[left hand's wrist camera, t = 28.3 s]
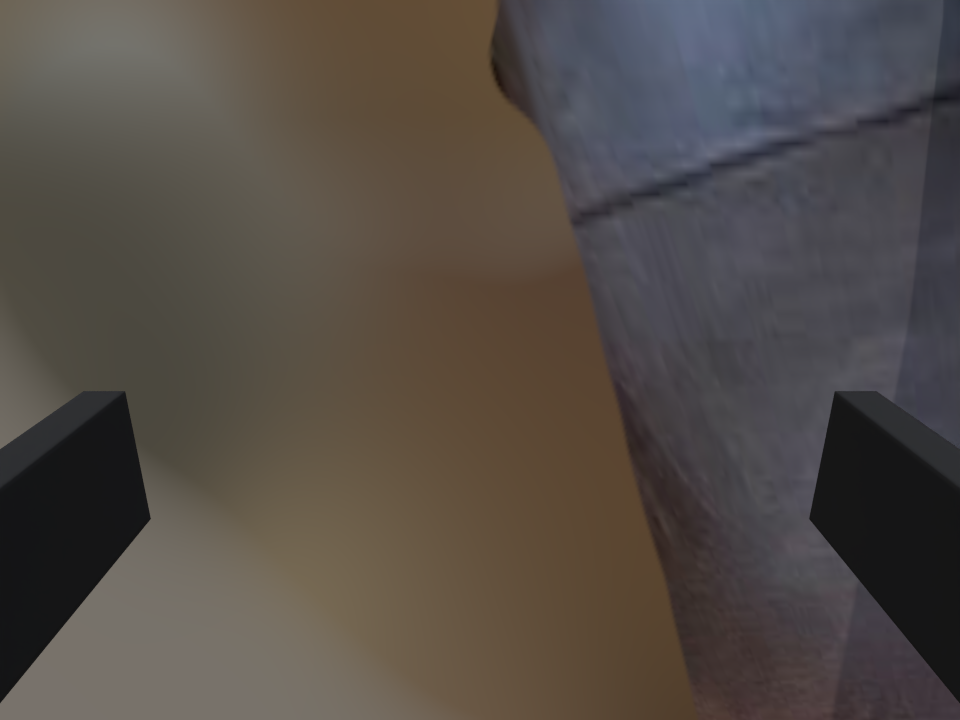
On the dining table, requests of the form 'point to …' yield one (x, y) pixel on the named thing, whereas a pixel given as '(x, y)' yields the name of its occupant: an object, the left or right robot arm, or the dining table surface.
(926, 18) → the dining table surface
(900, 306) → the dining table surface
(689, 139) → the dining table surface
